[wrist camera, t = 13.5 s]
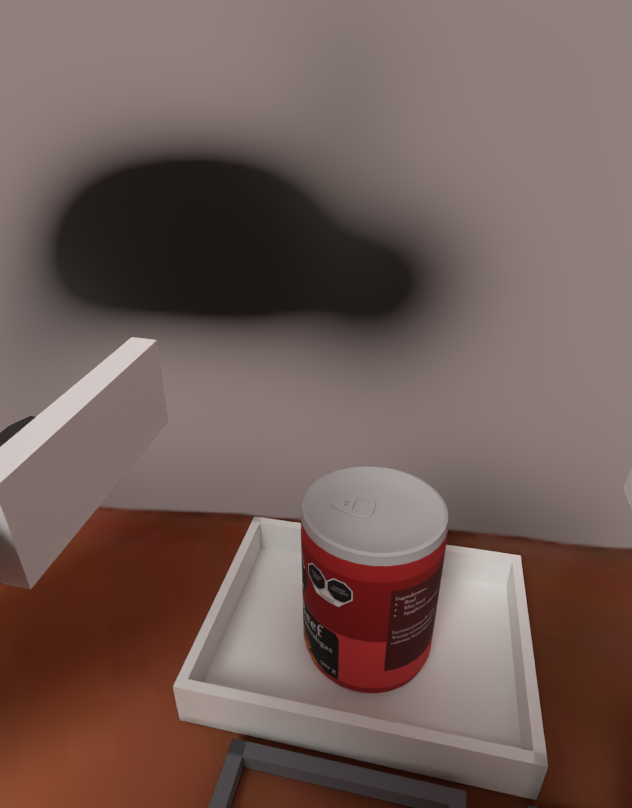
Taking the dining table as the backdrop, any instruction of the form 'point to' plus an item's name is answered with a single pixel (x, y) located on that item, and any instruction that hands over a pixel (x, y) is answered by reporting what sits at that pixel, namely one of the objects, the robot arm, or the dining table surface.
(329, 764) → the rectangular frames
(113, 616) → the dining table surface
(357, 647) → the canned food
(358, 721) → the tray
